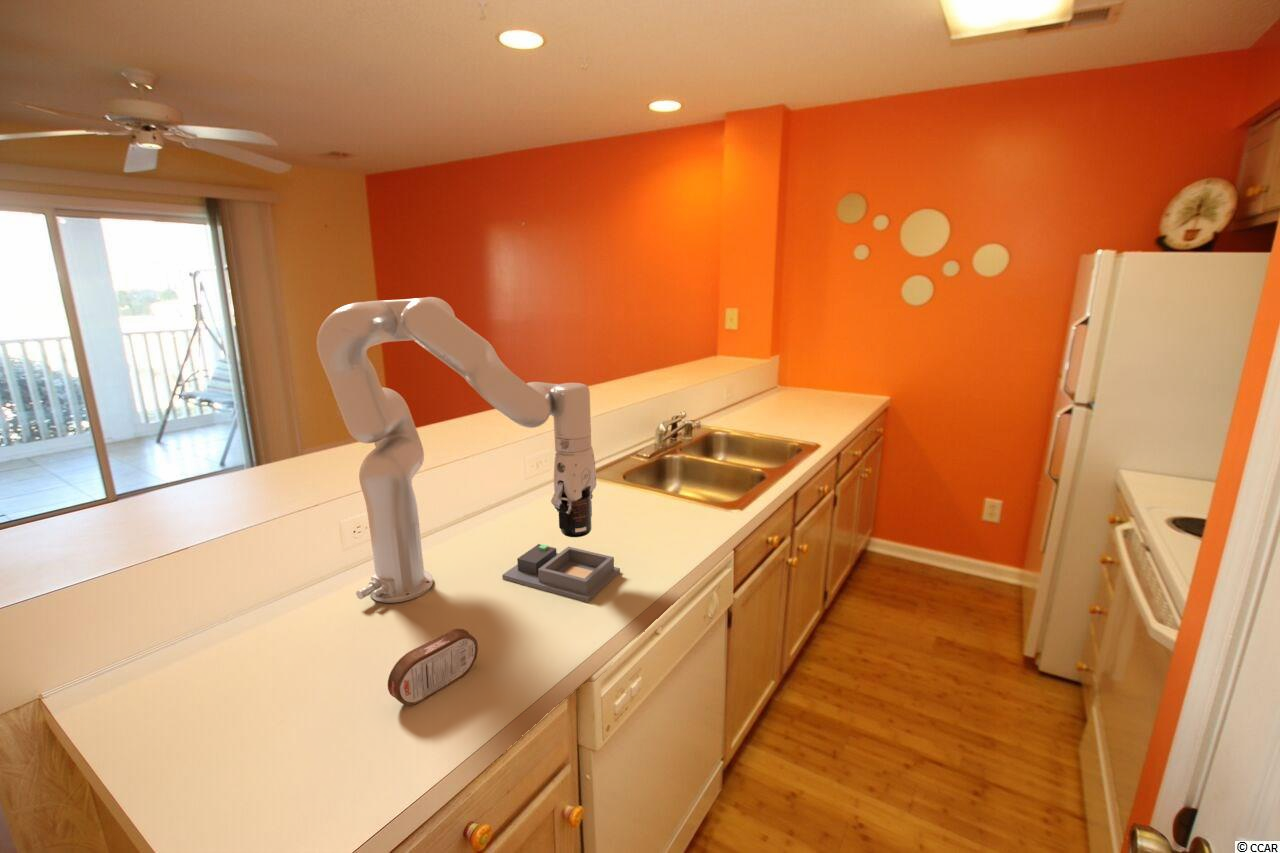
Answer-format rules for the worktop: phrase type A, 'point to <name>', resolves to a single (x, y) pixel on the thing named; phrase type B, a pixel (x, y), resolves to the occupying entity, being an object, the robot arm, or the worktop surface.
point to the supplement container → (580, 515)
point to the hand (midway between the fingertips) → (575, 522)
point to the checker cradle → (564, 571)
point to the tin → (432, 666)
